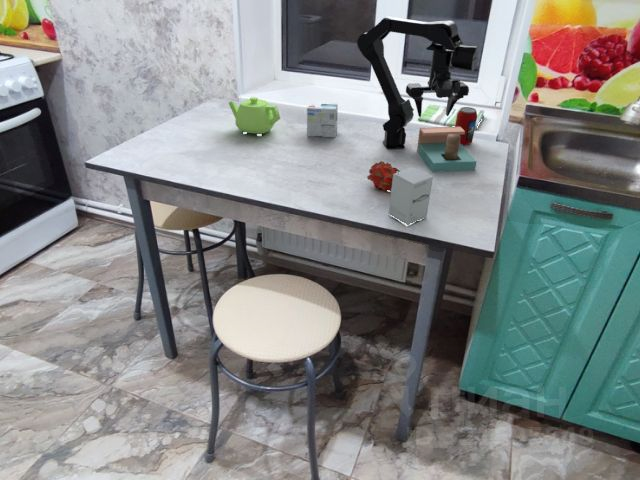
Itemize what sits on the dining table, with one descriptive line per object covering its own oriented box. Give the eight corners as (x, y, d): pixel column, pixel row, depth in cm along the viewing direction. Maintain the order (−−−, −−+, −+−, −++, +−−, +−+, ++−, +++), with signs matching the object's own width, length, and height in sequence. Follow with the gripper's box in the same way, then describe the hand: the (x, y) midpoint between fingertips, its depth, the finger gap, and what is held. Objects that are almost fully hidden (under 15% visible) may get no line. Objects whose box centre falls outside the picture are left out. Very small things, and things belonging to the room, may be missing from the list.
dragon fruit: (367, 185, 145) (400, 202, 140) (357, 179, 138) (391, 197, 132) (380, 160, 144) (414, 176, 139) (371, 152, 136) (406, 169, 131)
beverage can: (472, 147, 166) (479, 113, 159) (452, 145, 167) (458, 112, 160) (471, 139, 171) (477, 107, 165) (452, 138, 172) (457, 105, 166)
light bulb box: (337, 131, 178) (338, 102, 172) (335, 138, 172) (336, 108, 166) (309, 130, 179) (308, 101, 173) (306, 136, 173) (306, 107, 167)
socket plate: (432, 171, 149) (435, 148, 145) (416, 150, 163) (419, 127, 159) (474, 170, 151) (479, 146, 146) (456, 148, 165) (460, 126, 160)
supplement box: (407, 228, 122) (413, 184, 115) (387, 215, 127) (392, 173, 120) (427, 219, 126) (434, 176, 119) (407, 207, 131) (412, 165, 124)
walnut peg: (445, 168, 151) (450, 138, 146) (441, 163, 155) (445, 134, 149) (457, 168, 152) (462, 138, 146) (453, 162, 155) (458, 133, 150)
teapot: (223, 134, 175) (219, 100, 168) (240, 122, 185) (237, 89, 178) (272, 141, 169) (270, 107, 162) (287, 129, 179) (286, 95, 172)
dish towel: (476, 132, 179) (478, 123, 177) (417, 122, 187) (418, 113, 185) (484, 118, 192) (486, 109, 190) (428, 109, 200) (429, 101, 198)
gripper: (418, 74, 138) (412, 126, 146) (480, 72, 139) (470, 124, 148) (408, 64, 147) (402, 113, 155) (466, 63, 149) (457, 112, 157)
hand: (433, 116), depth 154 cm, fingers open, 9 cm apart
